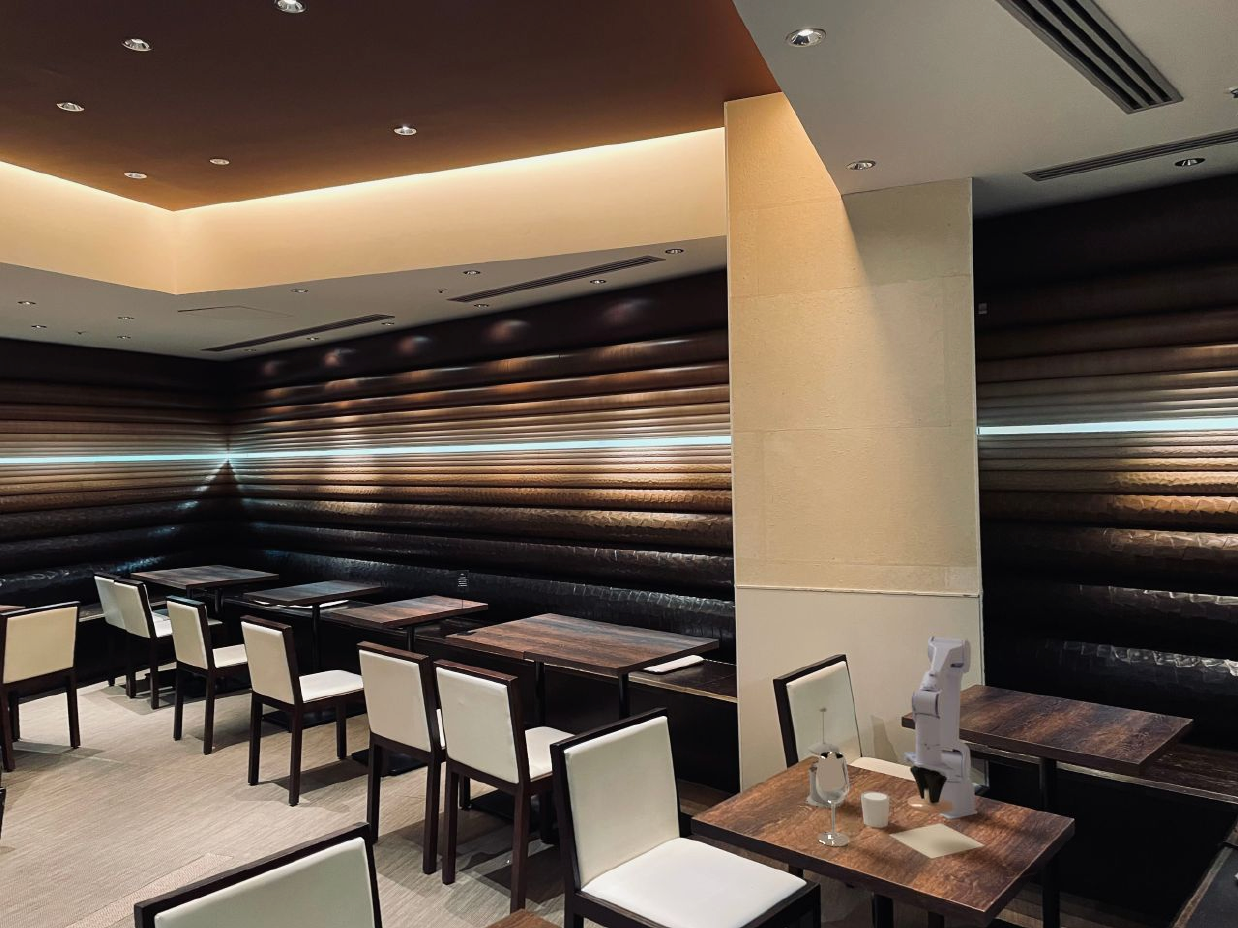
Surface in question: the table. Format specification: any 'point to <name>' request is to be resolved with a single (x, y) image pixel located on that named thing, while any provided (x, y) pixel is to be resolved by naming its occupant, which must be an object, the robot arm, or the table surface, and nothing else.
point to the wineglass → (832, 791)
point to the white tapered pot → (875, 809)
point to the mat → (936, 840)
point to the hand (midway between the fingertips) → (929, 799)
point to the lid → (929, 804)
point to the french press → (817, 750)
